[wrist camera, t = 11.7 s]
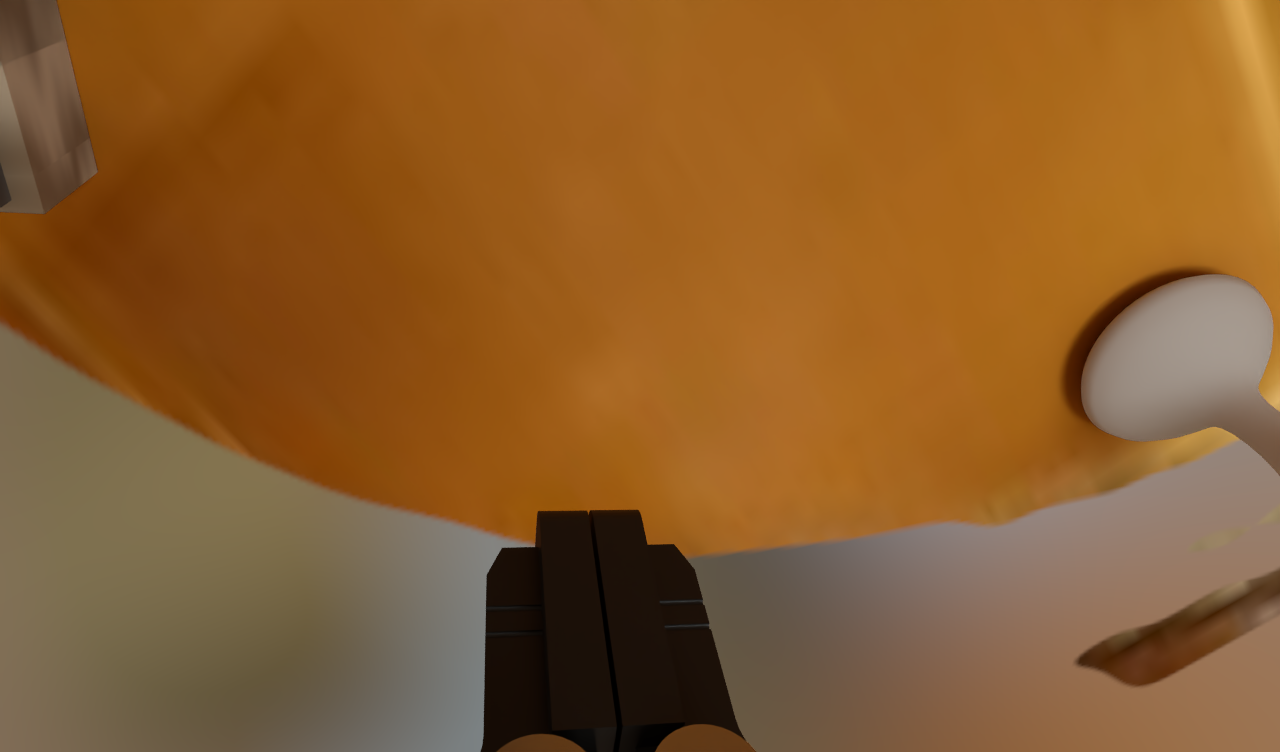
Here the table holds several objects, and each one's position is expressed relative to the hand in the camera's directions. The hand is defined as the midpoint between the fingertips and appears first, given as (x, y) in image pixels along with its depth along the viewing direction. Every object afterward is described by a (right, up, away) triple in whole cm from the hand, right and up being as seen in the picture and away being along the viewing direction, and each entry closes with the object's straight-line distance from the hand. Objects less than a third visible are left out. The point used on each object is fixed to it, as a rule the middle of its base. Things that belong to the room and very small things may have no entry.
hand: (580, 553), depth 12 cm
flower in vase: (+33, +4, +38) cm, 50 cm away
